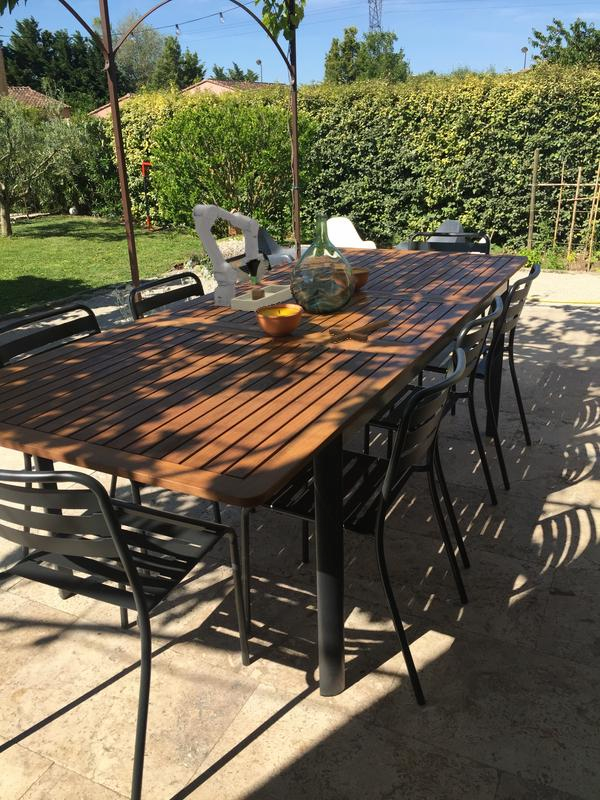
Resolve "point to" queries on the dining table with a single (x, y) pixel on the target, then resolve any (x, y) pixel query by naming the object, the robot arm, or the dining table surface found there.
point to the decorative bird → (246, 277)
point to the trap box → (271, 297)
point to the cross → (357, 331)
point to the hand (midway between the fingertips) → (253, 276)
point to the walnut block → (258, 294)
